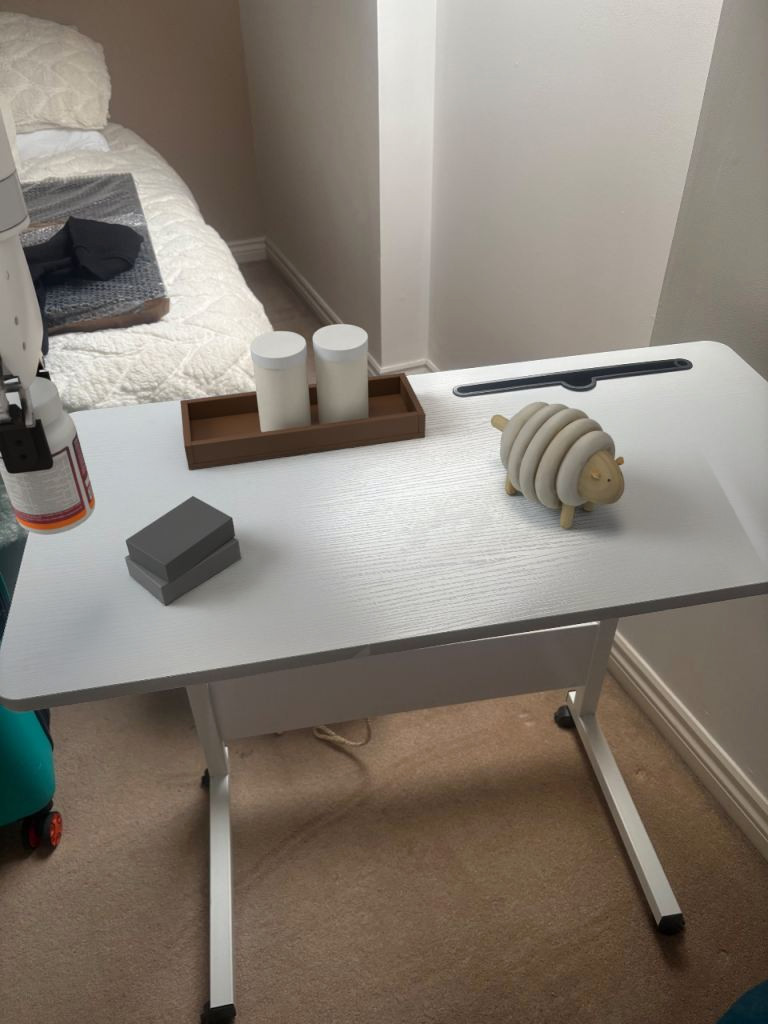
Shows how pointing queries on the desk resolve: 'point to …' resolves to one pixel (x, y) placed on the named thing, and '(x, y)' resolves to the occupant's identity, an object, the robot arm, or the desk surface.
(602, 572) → the desk surface
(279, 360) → the white bottle
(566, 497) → the toy sheep
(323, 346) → the white bottle
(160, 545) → the grey books
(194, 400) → the tray
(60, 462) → the pill bottle
